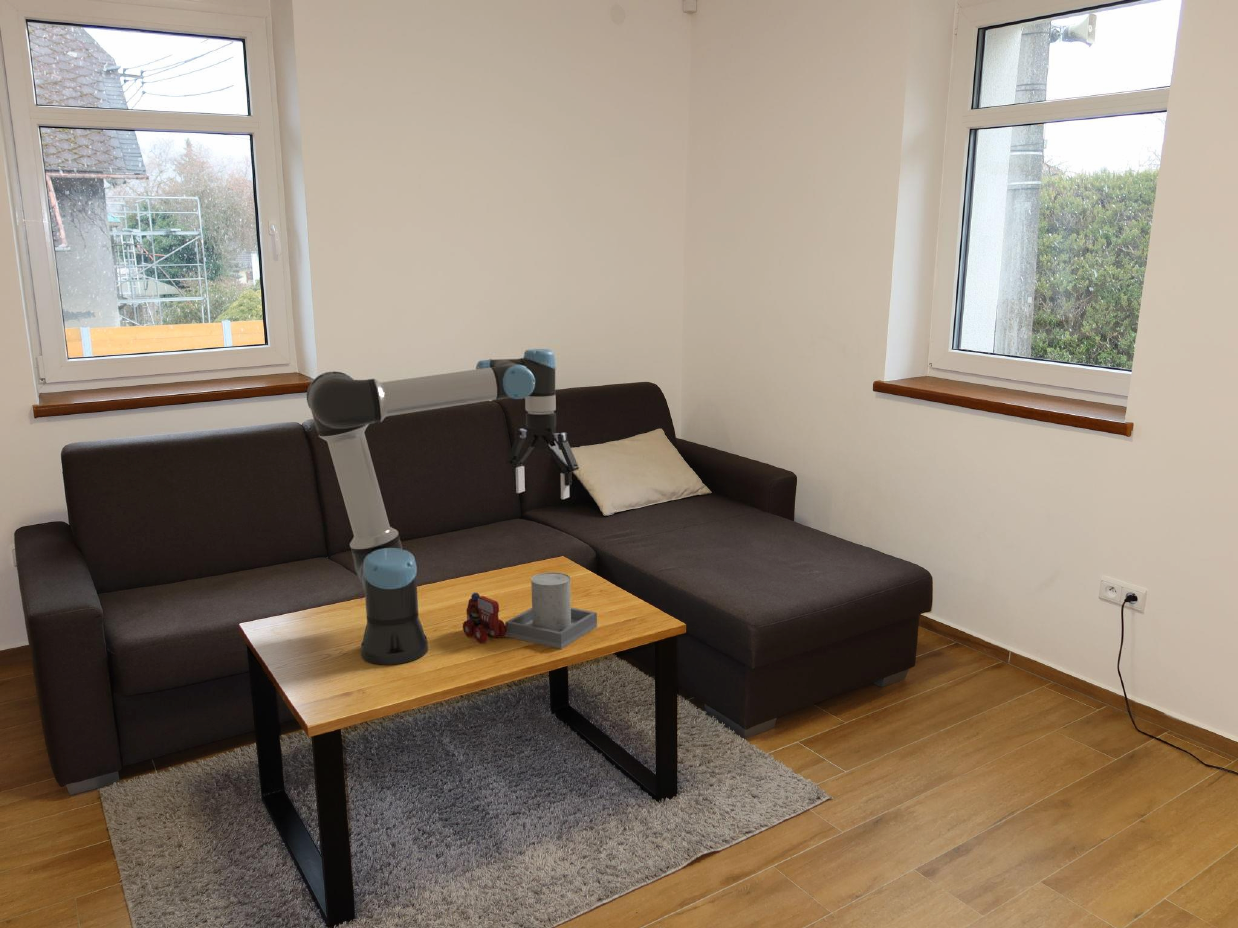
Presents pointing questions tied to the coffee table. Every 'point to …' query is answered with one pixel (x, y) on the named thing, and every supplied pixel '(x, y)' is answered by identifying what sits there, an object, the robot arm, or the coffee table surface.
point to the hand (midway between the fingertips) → (542, 495)
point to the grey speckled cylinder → (551, 601)
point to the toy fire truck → (483, 619)
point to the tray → (526, 631)
